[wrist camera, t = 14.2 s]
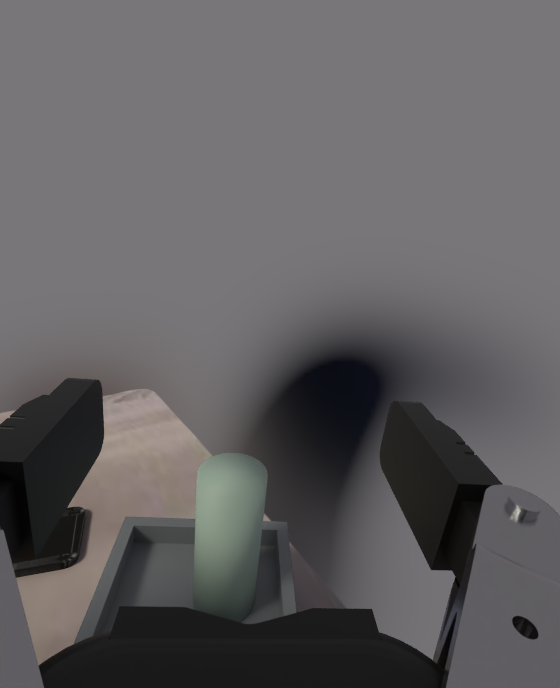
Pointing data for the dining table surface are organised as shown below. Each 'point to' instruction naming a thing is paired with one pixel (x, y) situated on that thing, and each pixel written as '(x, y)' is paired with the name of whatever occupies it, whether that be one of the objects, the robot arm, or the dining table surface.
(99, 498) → the dining table surface
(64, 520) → the phone
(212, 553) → the pale green cylinder
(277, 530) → the tray
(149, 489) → the dining table surface
